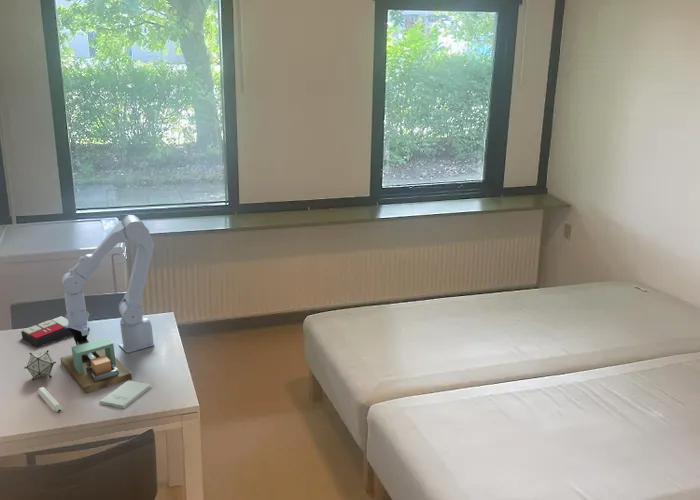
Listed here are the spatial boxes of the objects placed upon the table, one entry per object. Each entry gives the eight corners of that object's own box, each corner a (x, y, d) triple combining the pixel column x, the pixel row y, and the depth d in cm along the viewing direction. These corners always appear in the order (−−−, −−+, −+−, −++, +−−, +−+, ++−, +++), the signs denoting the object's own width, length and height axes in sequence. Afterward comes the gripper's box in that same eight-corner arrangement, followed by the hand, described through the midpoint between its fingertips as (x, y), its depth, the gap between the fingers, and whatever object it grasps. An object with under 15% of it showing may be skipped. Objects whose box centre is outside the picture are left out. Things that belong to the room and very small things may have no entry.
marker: (61, 418, 186) (41, 395, 197) (67, 412, 187) (47, 390, 198) (55, 412, 184) (35, 390, 196) (61, 407, 185) (41, 385, 197)
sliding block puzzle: (20, 329, 232) (61, 314, 242) (22, 340, 233) (63, 324, 244) (35, 338, 225) (77, 322, 235) (37, 349, 226) (79, 333, 237)
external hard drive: (151, 389, 200) (124, 410, 189) (127, 384, 203) (100, 405, 191) (150, 384, 199) (123, 405, 188) (127, 380, 202) (99, 400, 191)
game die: (46, 389, 206) (40, 375, 198) (21, 378, 207) (15, 364, 199) (64, 365, 212) (59, 351, 204) (40, 355, 212) (34, 339, 204)
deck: (105, 351, 223) (104, 345, 222) (131, 378, 205) (131, 373, 204) (61, 363, 215) (60, 357, 214) (84, 393, 197) (83, 387, 196)
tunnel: (109, 357, 214) (107, 337, 212) (115, 363, 210) (113, 343, 208) (74, 367, 208) (71, 347, 206) (79, 374, 204) (76, 353, 201)
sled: (94, 348, 219) (93, 337, 218) (118, 374, 203) (117, 362, 201) (71, 354, 215) (70, 343, 214) (94, 381, 198) (92, 369, 197)
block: (107, 368, 207) (105, 355, 206) (112, 374, 203) (110, 360, 202) (92, 373, 204) (90, 359, 203) (97, 378, 201) (95, 365, 199)
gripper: (56, 305, 217) (62, 343, 222) (69, 319, 206) (75, 360, 211) (79, 300, 221) (84, 338, 226) (93, 314, 210) (98, 353, 215)
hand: (81, 348), depth 218 cm, fingers closed
